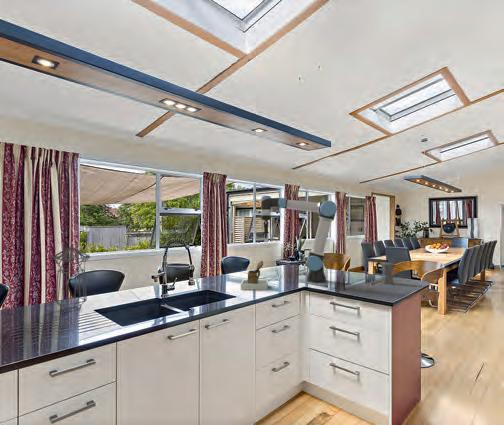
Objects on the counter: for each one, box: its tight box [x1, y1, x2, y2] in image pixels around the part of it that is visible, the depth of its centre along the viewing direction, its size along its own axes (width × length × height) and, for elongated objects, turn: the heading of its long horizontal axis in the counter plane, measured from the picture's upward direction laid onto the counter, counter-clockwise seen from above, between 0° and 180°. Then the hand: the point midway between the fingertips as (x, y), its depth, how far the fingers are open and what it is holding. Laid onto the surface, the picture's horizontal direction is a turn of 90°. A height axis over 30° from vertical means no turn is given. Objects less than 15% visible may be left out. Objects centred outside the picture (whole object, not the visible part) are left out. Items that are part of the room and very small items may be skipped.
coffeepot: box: [375, 259, 397, 285], centre depth 247 cm, size 15×9×18 cm, turn 44°
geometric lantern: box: [50, 246, 91, 312], centre depth 179 cm, size 16×16×35 cm
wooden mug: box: [246, 260, 264, 284], centre depth 235 cm, size 9×14×18 cm, turn 121°
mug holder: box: [240, 279, 269, 291], centre depth 234 cm, size 19×14×4 cm
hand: (266, 241), depth 256 cm, fingers open, 13 cm apart
